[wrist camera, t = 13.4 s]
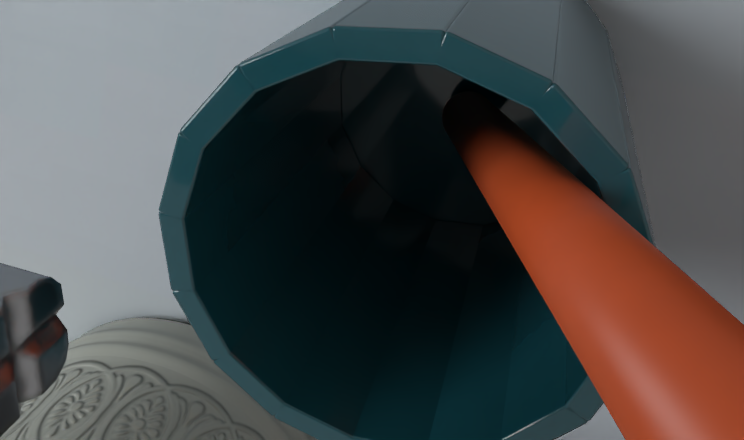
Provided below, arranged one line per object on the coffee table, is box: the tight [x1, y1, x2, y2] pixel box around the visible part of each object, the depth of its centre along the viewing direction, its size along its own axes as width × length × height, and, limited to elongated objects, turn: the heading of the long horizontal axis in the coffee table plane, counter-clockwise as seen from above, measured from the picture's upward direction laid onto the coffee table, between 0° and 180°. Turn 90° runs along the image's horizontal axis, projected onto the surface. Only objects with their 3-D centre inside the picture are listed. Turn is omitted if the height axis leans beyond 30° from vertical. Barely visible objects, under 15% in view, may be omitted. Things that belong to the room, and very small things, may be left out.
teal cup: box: [159, 0, 656, 440], centre depth 16 cm, size 8×8×10 cm
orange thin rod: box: [442, 91, 744, 440], centre depth 11 cm, size 1×1×18 cm
